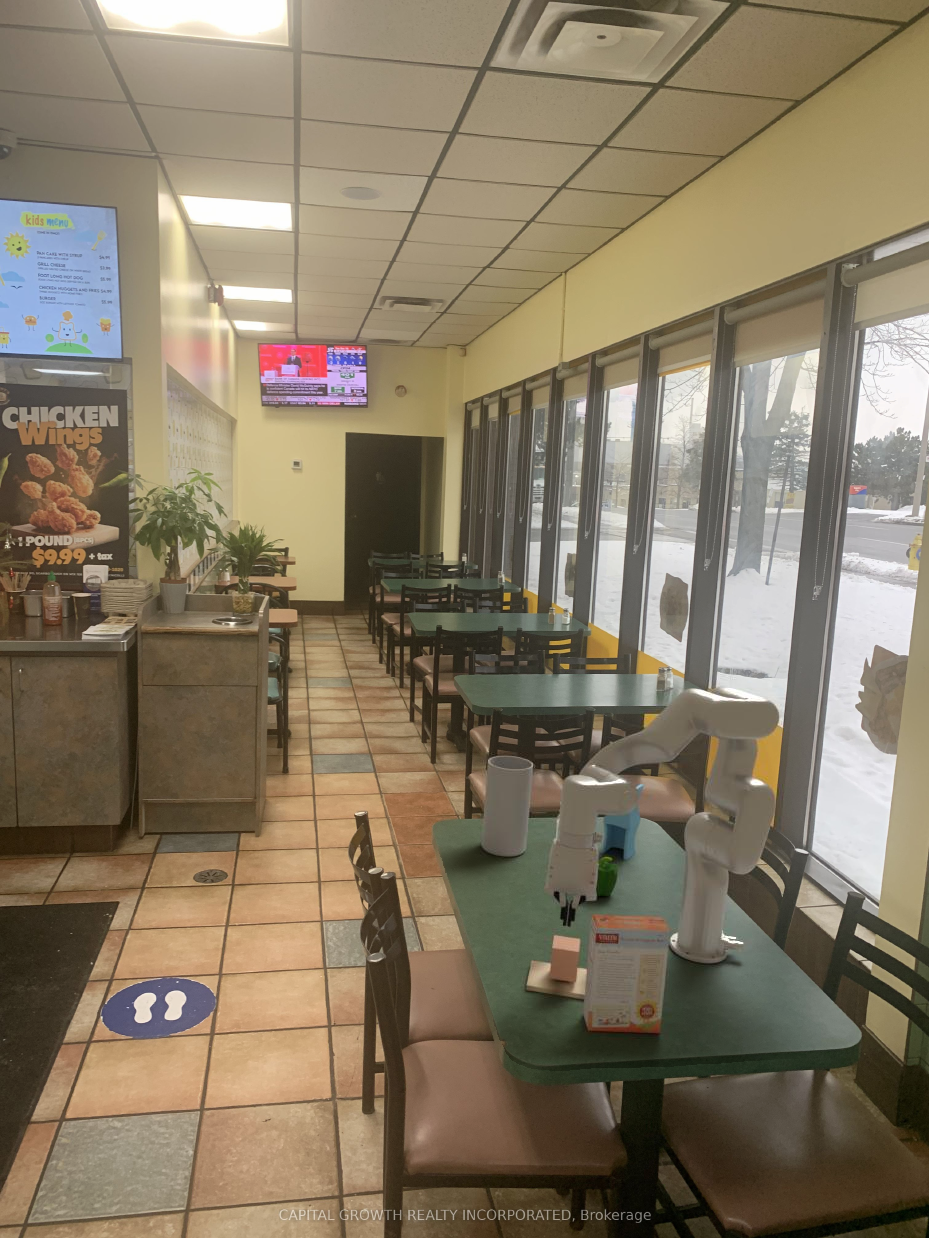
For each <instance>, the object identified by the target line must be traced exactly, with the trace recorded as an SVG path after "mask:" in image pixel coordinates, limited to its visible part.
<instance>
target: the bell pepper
mask: <svg viewBox="0 0 929 1238" xmlns="http://www.w3.org/2000/svg"><path fill="white" fill-rule="evenodd" d="M612 860H613V858H612V857H609V856H604V857H602V858H600V859H599V858H598V878H597V886H596V894H597V897H601V896H603V897H609V896H610V895H611V894H612V893H613V892H614V888H615V887H616V884H617V881H618V880H617V879H618V870H619V869H618V865H617V864H615V863H611V862H612ZM609 862H610V863H609Z"/></svg>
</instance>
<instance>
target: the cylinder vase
mask: <svg viewBox="0 0 929 1238" xmlns="http://www.w3.org/2000/svg"><path fill="white" fill-rule="evenodd" d="M533 771H534V763H533V762H532V761H530V760H529V759H526V758H522V757H519V756H512V755H498V756H493V757H489V759H488V760H487V769H486V783H485V793H484V794H485V795H484V805H483V806H484V808H483V820H482V831H481V832H482V834H481V836H482V837H481V847H482V849H483V850H484V851H485V852H487V853H488V854H491V855H494V856H497V857H517V856H520V855H522V854H523V853H525V852H526V849H527V839H528V829H529V827H528V826H529V818H530V817H529V816H530V805H531V793H532V780H533Z"/></svg>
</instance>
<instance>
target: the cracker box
mask: <svg viewBox="0 0 929 1238" xmlns="http://www.w3.org/2000/svg"><path fill="white" fill-rule="evenodd" d="M670 934H671V930H670V928H669V927H668V925H667V923H666V921H665V919H664V918H663V917H659V916H655V917H654V916H637V915H634V916H632V915H614V914H613V915H611V914H591V919H590V931H589V941H588V942H589V943H588V951H587V952H588V955H587V962H586V963H587V965H586V969H587V975H586V986H585V997H584V999H583V1009H582V1010H583V1011H582V1014H583V1018H584V1022H585V1025H586V1029H587V1031H588V1032H613V1033H615V1032H616V1033H617V1032H618V1033H644V1034H661V1024H662V1015H663V1013H662V1012H663V1003H664V997H665V996H664V993H665V985H666V976H667V974H666V973H667V968H668V967H667V965H668V956H669V947H670V938H671V935H670Z"/></svg>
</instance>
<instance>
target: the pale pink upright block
mask: <svg viewBox="0 0 929 1238" xmlns="http://www.w3.org/2000/svg"><path fill="white" fill-rule="evenodd" d="M580 946H581V939H580V938H577V937H569V936H568V937H567V936H563V935H556V934H555V935H553V941H552V946H551V947H552V948H551V957H550V958H551V959H550V963H551V967H550V978H551V979H558V980H564V981H570V982H576V979H577V969H578V968H579V967H578V966H579V957H580V949H581V948H580Z"/></svg>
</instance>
